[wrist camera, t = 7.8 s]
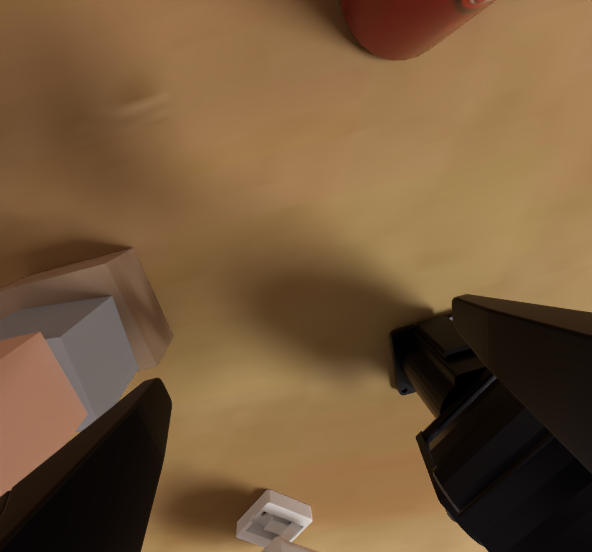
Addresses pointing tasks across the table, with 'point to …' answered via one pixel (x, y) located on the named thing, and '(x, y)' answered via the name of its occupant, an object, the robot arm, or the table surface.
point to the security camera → (275, 523)
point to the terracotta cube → (33, 407)
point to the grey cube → (82, 348)
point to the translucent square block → (94, 284)
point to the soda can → (406, 23)
